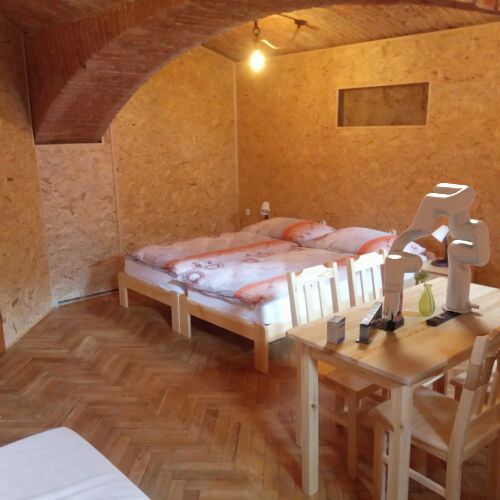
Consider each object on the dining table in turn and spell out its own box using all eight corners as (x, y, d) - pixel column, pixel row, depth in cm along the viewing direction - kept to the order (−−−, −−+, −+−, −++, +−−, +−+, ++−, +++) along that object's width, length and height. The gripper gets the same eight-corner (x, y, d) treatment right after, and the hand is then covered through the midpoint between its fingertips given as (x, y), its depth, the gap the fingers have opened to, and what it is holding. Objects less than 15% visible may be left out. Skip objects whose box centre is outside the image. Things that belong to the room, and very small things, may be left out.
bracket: (384, 317, 224) (385, 301, 223) (368, 344, 196) (369, 326, 194) (373, 315, 226) (374, 300, 225) (355, 341, 198) (356, 324, 196)
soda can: (400, 310, 232) (401, 284, 230) (403, 315, 225) (404, 289, 223) (384, 310, 233) (385, 284, 230) (386, 315, 226) (388, 289, 223)
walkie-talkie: (387, 318, 224) (361, 330, 210) (388, 308, 223) (362, 320, 209) (406, 323, 218) (380, 336, 204) (406, 313, 217) (381, 326, 203)
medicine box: (337, 344, 196) (337, 323, 194) (326, 342, 198) (326, 320, 196) (345, 337, 202) (345, 316, 200) (334, 335, 205) (335, 314, 203)
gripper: (387, 280, 212) (385, 322, 216) (379, 290, 199) (377, 335, 203) (406, 282, 209) (403, 325, 213) (399, 292, 195) (397, 338, 199)
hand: (390, 330), depth 208 cm, fingers closed
